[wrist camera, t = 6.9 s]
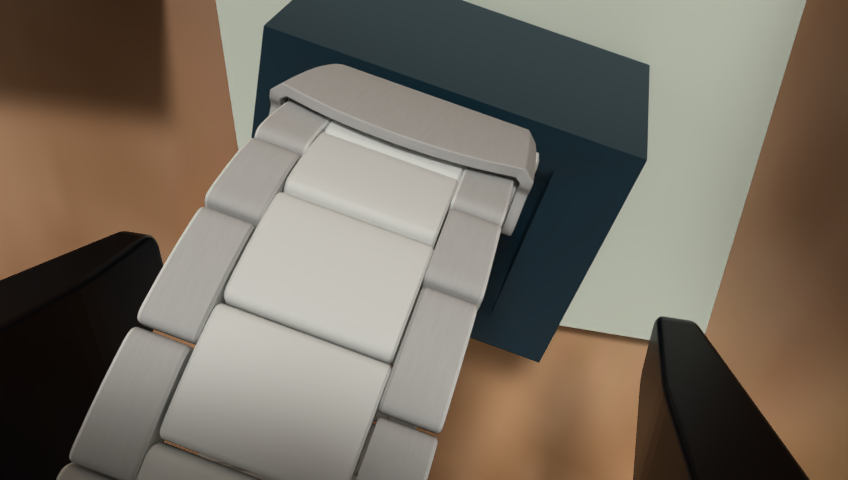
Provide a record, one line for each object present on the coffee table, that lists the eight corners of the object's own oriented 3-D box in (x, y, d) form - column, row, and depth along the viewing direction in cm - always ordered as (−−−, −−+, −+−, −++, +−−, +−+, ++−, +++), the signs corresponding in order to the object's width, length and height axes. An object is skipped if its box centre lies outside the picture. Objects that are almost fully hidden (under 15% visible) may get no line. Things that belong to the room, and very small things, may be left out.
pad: (858, -210, 10) (869, -206, 10) (699, 329, 16) (700, 348, 16) (199, -228, 12) (181, -226, 12) (267, 260, 18) (257, 275, 18)
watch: (292, 232, 17) (-90, 819, 8) (357, -155, 11) (-490, 343, 3) (530, 318, 16) (392, 1013, 8) (705, -36, 11) (845, 859, 3)
